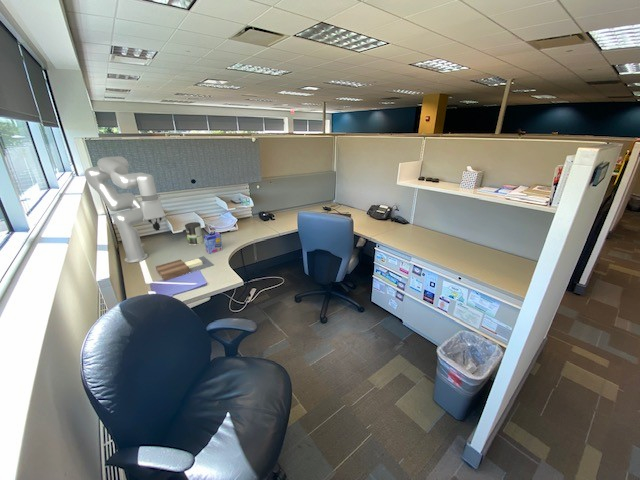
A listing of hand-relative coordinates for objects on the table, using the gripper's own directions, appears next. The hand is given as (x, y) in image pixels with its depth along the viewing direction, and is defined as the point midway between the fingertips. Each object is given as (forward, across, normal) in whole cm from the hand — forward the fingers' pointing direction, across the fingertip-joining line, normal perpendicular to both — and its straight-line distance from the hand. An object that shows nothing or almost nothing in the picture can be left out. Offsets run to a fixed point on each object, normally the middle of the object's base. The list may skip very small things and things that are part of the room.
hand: (157, 229), depth 154 cm
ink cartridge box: (+25, -32, -6) cm, 41 cm away
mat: (+25, -16, +6) cm, 30 cm away
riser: (+25, -2, +6) cm, 26 cm away
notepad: (+25, -14, +6) cm, 29 cm away
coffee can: (+25, -28, -29) cm, 48 cm away
